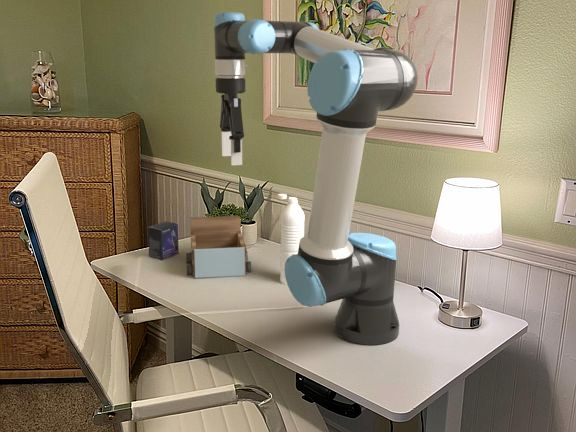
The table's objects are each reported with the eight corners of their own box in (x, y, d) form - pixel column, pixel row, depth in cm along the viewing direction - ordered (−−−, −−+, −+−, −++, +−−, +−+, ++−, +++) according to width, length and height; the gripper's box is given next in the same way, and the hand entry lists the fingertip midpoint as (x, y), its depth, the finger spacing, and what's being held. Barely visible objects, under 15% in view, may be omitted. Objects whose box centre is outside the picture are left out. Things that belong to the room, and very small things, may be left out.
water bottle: (308, 284, 174) (310, 197, 167) (291, 290, 169) (292, 201, 162) (286, 275, 180) (287, 192, 173) (270, 281, 175) (270, 195, 169)
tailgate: (245, 277, 176) (245, 248, 174) (194, 280, 174) (193, 250, 172) (245, 276, 177) (244, 247, 175) (194, 279, 175) (193, 249, 173)
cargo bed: (251, 276, 178) (251, 233, 175) (187, 280, 175) (185, 236, 172) (245, 255, 196) (244, 215, 193) (186, 257, 193) (184, 217, 190)
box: (162, 263, 189) (160, 229, 186) (148, 259, 191) (146, 226, 188) (179, 256, 195) (178, 223, 192) (166, 252, 198) (164, 220, 195)
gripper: (255, 79, 145) (256, 168, 151) (235, 74, 169) (236, 151, 174) (224, 79, 144) (225, 169, 149) (208, 74, 167) (210, 152, 172)
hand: (231, 160), depth 162 cm, fingers open, 13 cm apart
